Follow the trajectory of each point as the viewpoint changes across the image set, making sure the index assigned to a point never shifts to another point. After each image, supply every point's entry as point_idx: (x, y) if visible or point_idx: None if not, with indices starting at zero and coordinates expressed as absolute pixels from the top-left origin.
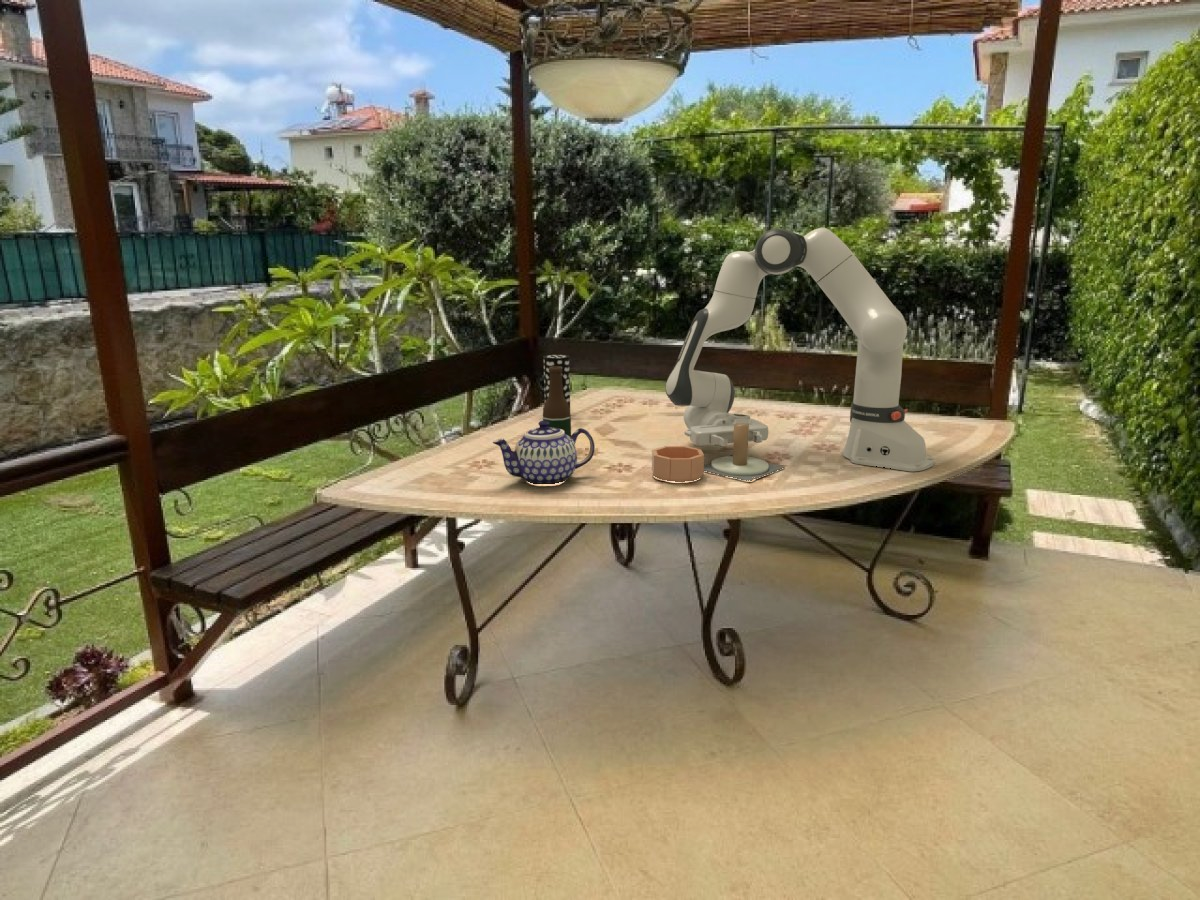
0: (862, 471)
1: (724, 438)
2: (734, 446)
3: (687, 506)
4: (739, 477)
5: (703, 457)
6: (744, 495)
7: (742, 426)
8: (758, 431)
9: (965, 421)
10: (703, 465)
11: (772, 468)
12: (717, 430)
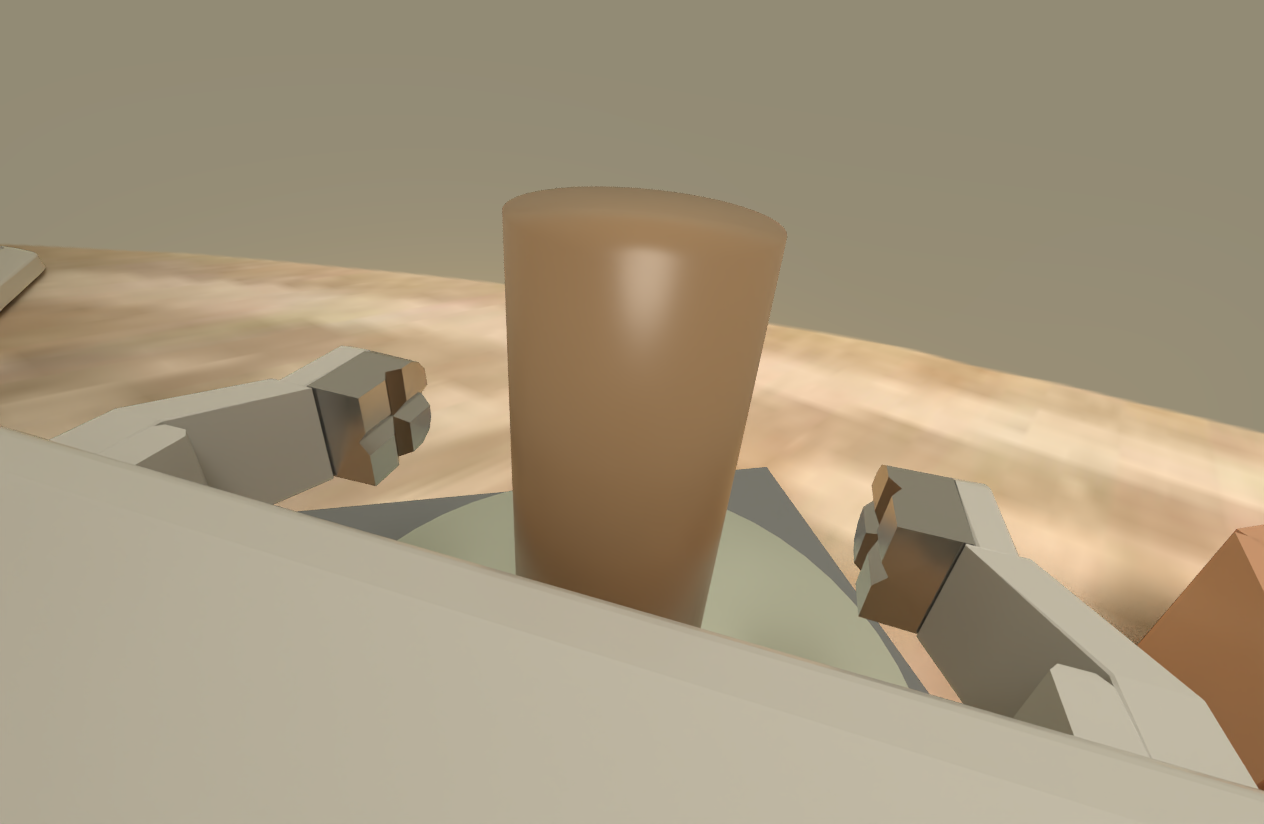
0: (119, 333)
1: (930, 484)
2: (719, 542)
3: (1215, 447)
4: (786, 533)
5: (1224, 548)
6: (885, 410)
7: (710, 201)
8: (94, 424)
9: None
10: (1167, 611)
11: (405, 533)
12: (1042, 781)
